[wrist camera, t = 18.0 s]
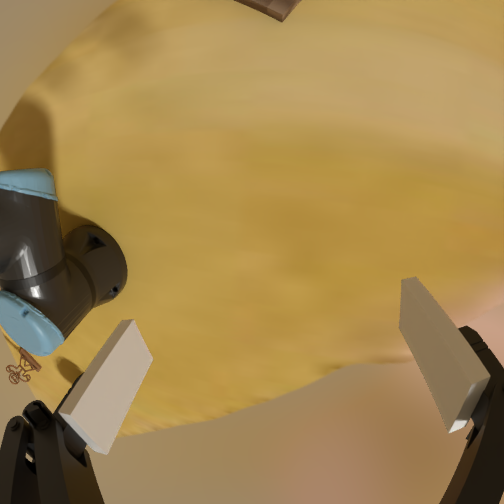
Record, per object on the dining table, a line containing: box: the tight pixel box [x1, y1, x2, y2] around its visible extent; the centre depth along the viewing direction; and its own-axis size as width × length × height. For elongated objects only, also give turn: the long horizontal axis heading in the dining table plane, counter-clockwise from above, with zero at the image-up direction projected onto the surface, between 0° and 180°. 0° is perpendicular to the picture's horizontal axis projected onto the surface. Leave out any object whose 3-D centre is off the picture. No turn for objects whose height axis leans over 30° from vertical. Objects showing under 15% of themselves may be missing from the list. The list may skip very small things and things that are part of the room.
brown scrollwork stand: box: [6, 348, 42, 384], centre depth 60 cm, size 9×4×12 cm, turn 42°
